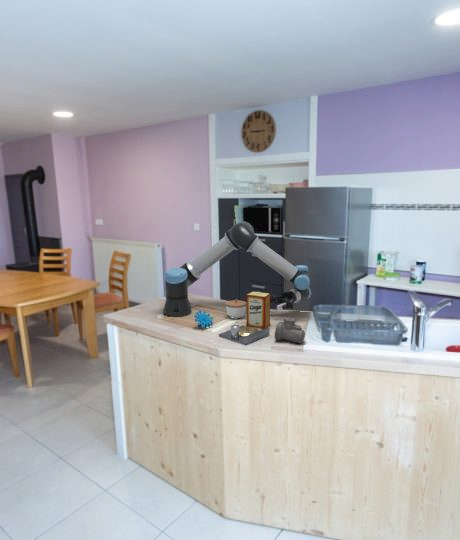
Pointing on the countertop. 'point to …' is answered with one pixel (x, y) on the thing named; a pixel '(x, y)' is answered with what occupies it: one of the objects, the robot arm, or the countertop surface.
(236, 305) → the lidded jar
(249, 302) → the baking soda box
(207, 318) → the gear
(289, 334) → the pipe fitting
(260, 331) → the carrier plate
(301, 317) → the countertop surface
